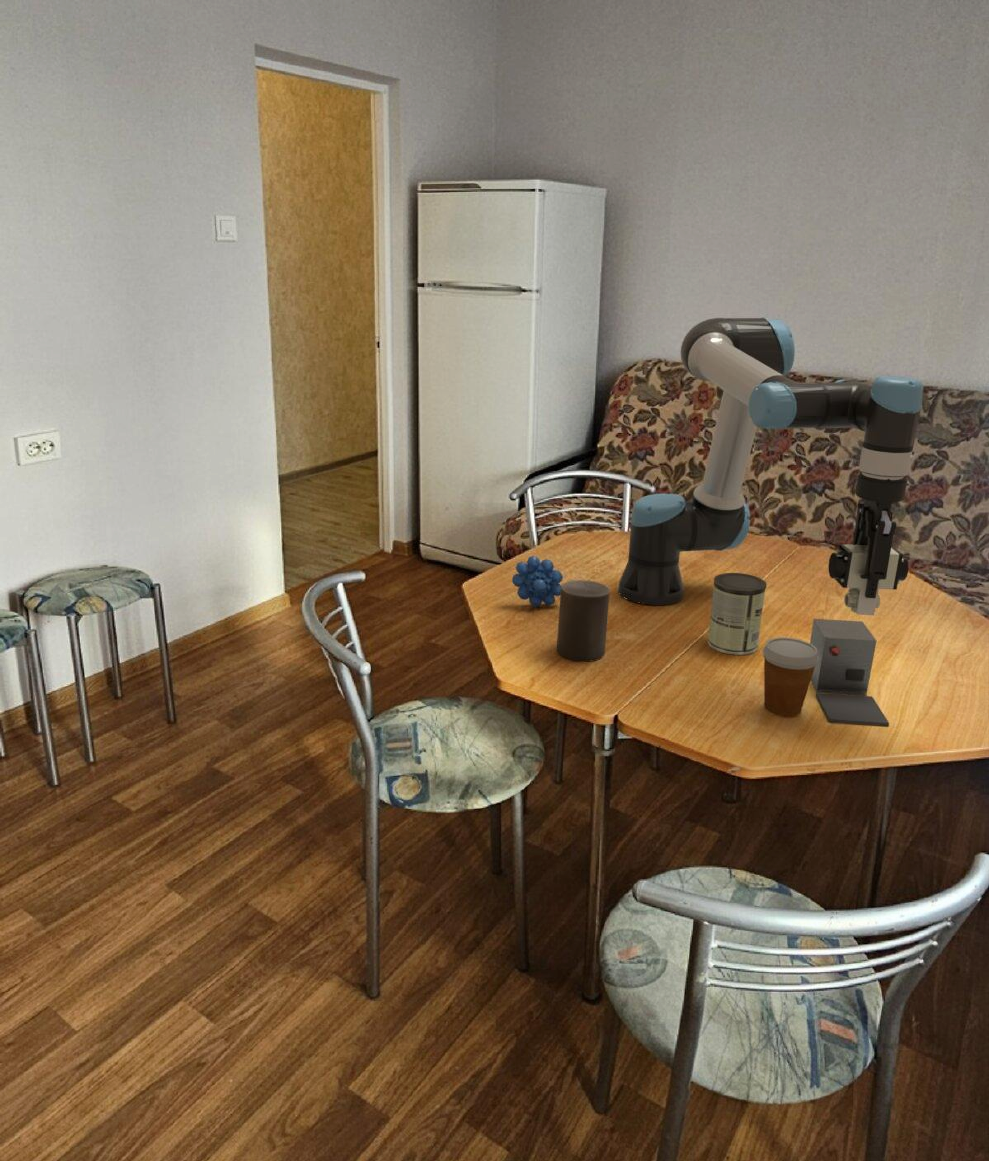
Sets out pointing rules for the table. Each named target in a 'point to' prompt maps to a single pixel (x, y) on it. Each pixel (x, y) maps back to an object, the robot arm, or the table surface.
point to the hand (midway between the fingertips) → (860, 607)
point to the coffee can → (736, 613)
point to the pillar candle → (583, 620)
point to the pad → (851, 709)
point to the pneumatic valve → (863, 571)
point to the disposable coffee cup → (787, 674)
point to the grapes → (537, 581)
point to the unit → (842, 656)
